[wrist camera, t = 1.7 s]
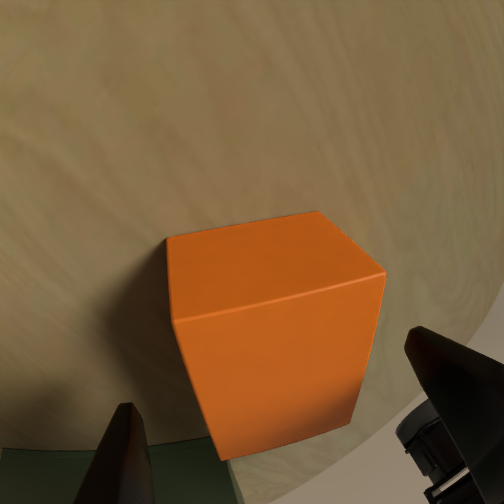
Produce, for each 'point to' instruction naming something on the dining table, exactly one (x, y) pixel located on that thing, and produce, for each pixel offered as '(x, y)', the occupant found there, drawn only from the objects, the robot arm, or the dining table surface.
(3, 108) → the dining table surface
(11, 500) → the green storage bin
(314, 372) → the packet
